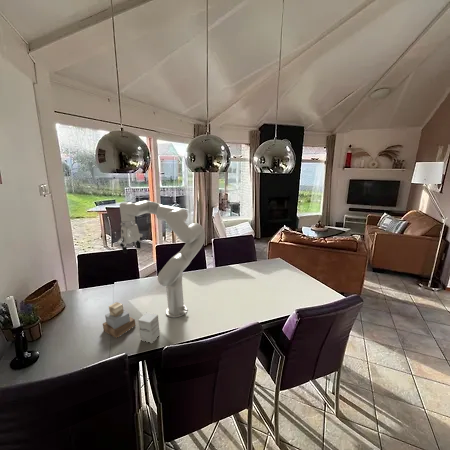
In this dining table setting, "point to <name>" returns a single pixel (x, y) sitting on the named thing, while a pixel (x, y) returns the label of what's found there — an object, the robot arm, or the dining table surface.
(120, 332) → the base block
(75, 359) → the dining table surface
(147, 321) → the supplement box
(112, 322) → the top block
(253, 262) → the dining table surface
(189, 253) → the robot arm
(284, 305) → the dining table surface
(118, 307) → the ash cube
